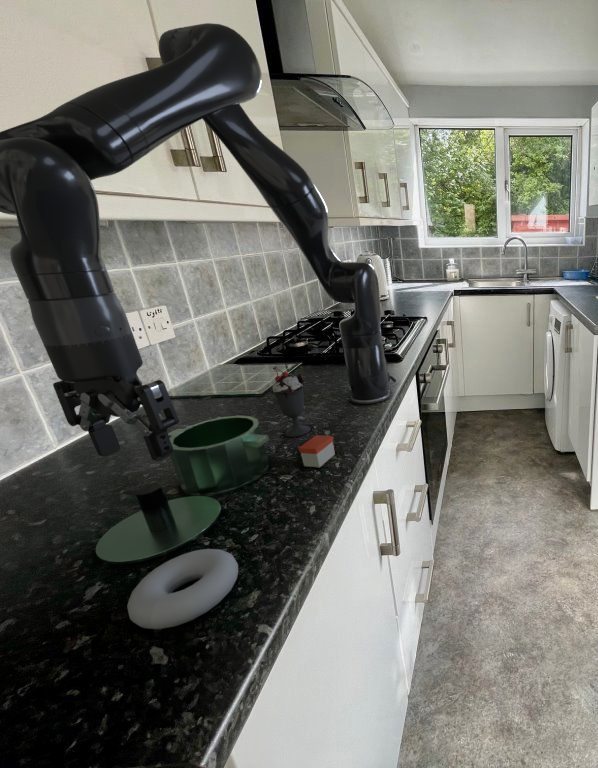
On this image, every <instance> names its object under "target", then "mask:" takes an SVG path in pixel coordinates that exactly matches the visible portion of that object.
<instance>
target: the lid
mask: <svg viewBox="0 0 598 768" xmlns="http://www.w3.org/2000/svg"><path fill="white" fill-rule="evenodd" d="M134 495H135V498H136V501H137V503H138V505H139V507H140V510H139V511H137V512H135V513H132V514H131V515H129V516H127V517H126V518H123V519H122V520H120V521H119V522H117V523H116V524H114V525H113V526H112V527H110V528H109V530H108V531H106V532H105V533H104V534H103V535H102V536H101V537H100V539H99V540H98V542H97V543H96V546H95V555H96V556H97V558H98V559H99V561H101V562H103V563H105V564H110V565H130V564H136V563H140V562H144V561H149V560H153V559H156V558H159V557H161V556H165V555H166V554H169V553H172V552H174V551H176V550H178V549H181V548H182V547H184V546H186V545H188V544H190V543H192V542H193V541H195V540H197V539H199V538H200V537H201V536H202V535H204V534H205V533H207V532H208V531H209V530H210V529H211V528H212V527H213V526H214V525H215V524H216V523H217V521H218V520H219V518H220V517H221V513H222V505H221V504H220V502H219V501H218V500H217V499H215V498H213V497H212V496H207V497H206V496H191V495H189V496H184V497H179V498H173V499H169V500H168V498H167V494H166V493H165V489H164V487H163V484H162V483H160V482H152V483H148V484H145V485H142V486H141V487H139V488H137V489H136V490H135V491H134Z"/></svg>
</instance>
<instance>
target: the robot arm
mask: <svg viewBox="0 0 598 768" xmlns="http://www.w3.org/2000/svg"><path fill="white" fill-rule="evenodd" d="M158 52H159V53H158V54H159V58H160V60H161V63H162V64H161V65H158V66H156V67H154V68H151V69H148V70H145V71H142V72H139V73H135V74H132V75H129V76H126V77H123V78H119V79H117V80H114V81H111V82H108V83H105V84H103V85H100V86H97V87H95V88H93V89H90V90H88V91H86V92H85V93H82V94H80V95H78V96H76V97H74V98H72V99H70V100H68V101H66V102H64V103H63V104H61V105H59V106H58V107H56V108H54V109H53V110H52V111H50V112H49V113H46V114H44V115H43V116H41V117H39V118H36V119H33V120H30V121H28V122H24V123H21V124H18V125H16V126H13V127H10V128H7V129H3V130H2V131H0V213H2V214H6V215H10V216H14V217H15V216H16V219H17V220H16V221H17V224H18V228H19V233H20V240H19V242H17V243H15V244H14V245H13V246H12V247H11V249H10V252H9V253H10V254H9V256H10V261H11V264H12V267H13V269H14V272H15V274H16V277H17V279H18V282H19V284H20V286H21V288H22V291H23V293H24V295H25V297H26V299H27V302H28V305H29V308H30V314H31V316H32V321H33V324H34V327H35V328H36V331H37V333H38V335H39V337H40V340H41V342H42V344H43V347H44V349H45V351H46V353H47V356H48V358H49V360H50V363H51V365H52V367H53V370H54V372H55V374H56V376H57V378H58V379H59V381H55V382H54V383H53V384H52V386H53V389H54V391H55V394H56V397H57V399H58V402H59V404H60V407H61V409H62V412H63V414H64V416H65V420H66V422H67V423H68V425H69V426H71V427H75V426H79V427H80V429H81V430H82V431H84V432H88V435H89V437H90V439H91V442H92V444H93V446H94V448H95V451H96V453H97V455H98V456H99V457H108V456H110V455H112V454H115V453H117V452H119V451H120V449H121V445H120V442H119V440H118V437H117V435H116V433H115V430H114V428H113V426H112V424H109V423H110V420H111V416H113V417H115V418H120V419H121V420H122V421H123V422H124V424H125V423H126V424H127V425H133V426H134V427H135V428H136V429H138V431H139V432H141V433H142V434H143V436H142V437H143V439H144V442H145V445H146V448H147V450H148V453H149V455H150V458H151V460H152V461H155V462H162V461H163V460H165V459H167V458H169V457H170V456H171V455H172V453H173V447H172V445H171V442H170V439H169V436H168V433H169V432H168V429H169V428H172V427H174V426H175V425H177V424H179V422H180V420H179V417H178V415H177V412H176V410H175V407H174V405H173V401H172V399H171V397H170V394H169V392H168V390H167V387H166V384H165V383H164V381H163V380H162V379H156V380H154V381H151V382H146V383H145V382H144V383H143V381H142V380H141V379H140V378H139V376H138V373H137V372H138V370H139V369H140V368H141V367H142V366H143V365H144V361H143V358H142V356H141V353H140V350H139V347H138V344H137V342H136V338H135V336H134V334H133V331H132V328H131V324H130V323H129V319H128V316H127V314H126V311H125V309H124V307H123V305H122V304H121V301H120V300H119V298H118V296H117V293H116V292H115V289H114V286H113V283H112V280H111V277H110V274H109V271H108V269H107V267H106V264H105V262H104V260H103V257H102V231H101V220H100V219H101V218H100V217H101V216H100V208H99V202H98V196H97V193H96V191H95V190H96V189H95V187H94V185H93V183H92V181H93V180H96V179H100V178H104V177H109V176H114V175H116V174H119V173H120V172H123V171H124V170H126V169H128V168H129V167H131V166H132V165H134V164H135V163H136V162H138V161H140V160H141V159H142V158H144V157H145V156H147V155H148V154H150V153H151V152H152V151H154V150H155V149H156V148H158V147H159V146H160V145H162V144H163V143H166V141H168V140H170V139H171V138H173V137H174V136H176V135H177V134H179V133H180V132H183V131H184V130H185V129H187V128H189V127H191V126H192V125H194V124H196V123H198V122H199V121H201V120H202V121H203V122H204V123H205V124H206V125H207V126H208V127H209V129H210V130H211V131H212V132H213V134H214V135H215V136H216V137H217V138H218V139H219V141H220V142H221V143H222V144H223V146H224V147H225V148H226V149H227V151H229V153H230V154H231V156H232V157H233V158H234V160H235V161H236V162H237V164H238V165H239V167H241V169H242V170H243V172H244V173H245V174H246V176H247V177H248V178H249V180H250V181H251V183H252V184H253V185H254V186H255V188H256V189H257V190H258V192H259V194H260V195H261V196H262V198H263V200H264V201H265V202H266V204H267V205H268V207H269V208H270V209H271V211H272V212H273V214H274V215H275V216H276V218H277V219H278V221H279V222H280V224H281V225H282V226H283V227H284V229H285V230H286V231H287V233H288V234H289V235H290V237H291V238H292V240H293V241H294V243H295V244H296V245H297V247H298V249H299V250H300V251H301V253H302V254H303V256H304V257H305V259H306V261H307V262H308V265H310V268H311V270H312V271H313V272H314V274H315V276H316V279H318V282H319V283H320V285H321V286H322V288H323V290H324V291H325V293H326V294H327V296H329V298H330V299H332V300H333V301H334V302H337V303H341V304H354V313H353V314H352V315H351V316H349V317H345V318H344V319H342V320H340V322H339V323H338V324H339V327H338V328H339V332H340V338H341V339H340V340H341V345H342V350H343V356H344V357H343V358H344V362H345V369H346V374H347V380H348V383H347V388H348V389H349V392H350V401H351V402H352V403H354V404H356V405H372V404H373V405H374V404H378V403H380V402H381V403H382V402H383V401H386V400H387V399H389V398H390V397H391V388H390V382H391V381H392V382H393V383H396V382H397V379H396V378H395V377H393V376H392V375H390V372H389V371H388V367H387V359H386V357H385V350H384V349H385V348H384V343H383V337H382V336H383V335H382V328H381V322H382V321H381V319H382V308H381V296H380V295H381V294H380V285H379V283H380V282H379V278H378V275H377V272H376V270H375V268H374V267H373V265H372V264H370V263H369V262H364V261H341V260H340V259H339V258H338V257H337V255H336V254H335V252H334V250H333V248H332V247H331V245H330V241H329V236H328V235H329V211H328V206H327V204H326V201H325V200H324V198H323V196H322V194H321V193H320V191H319V189H318V188H317V186H316V184H315V182H314V181H313V179H312V177H311V176H310V174H309V173H308V171H306V170H305V168H304V167H303V166H302V165H300V164H299V162H297V161H296V160H295V159H294V158H293V157H291V155H289V154H288V153H287V152H286V151H285V150H283V149H282V148H281V147H279V146H278V145H277V144H275V143H274V141H272V140H271V139H269V137H268V136H266V135H265V134H264V133H263V131H261V130H260V129H259V128H258V126H257V125H255V123H254V122H253V121H252V120H251V118H250V117H249V115H248V114H247V113H246V111H245V109H244V108H243V106H242V104H245V103H247V102H249V101H252V100H253V99H255V98H256V97H257V96H258V94H259V93H260V90H261V87H262V83H263V80H262V79H263V76H262V69H261V66H260V62H259V59H258V57H257V55H256V53H255V51H254V50H253V48H252V46H251V45H250V44H249V43H248V41H247V40H246V39H245V38H244V37H243V36H242V35H241V34H240V33H239V32H237V31H236V30H234V28H231V27H229V26H228V25H224V24H220V23H211V22H209V23H208V22H207V23H200V24H193V25H188V26H183V27H177V28H172V29H168V30H166V31H164V32H162V34H161V35H160V37H159V40H158ZM141 406H142V408H143V409H140V408H141ZM76 407H79V410H78V413H77V411H76ZM139 409H140V410H139ZM162 411H163V413H164V416H165V417H163V415H162V414H160V412H162ZM146 418H147V419H148V422H149V423H148V422H146V420H145V419H146Z"/></svg>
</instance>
